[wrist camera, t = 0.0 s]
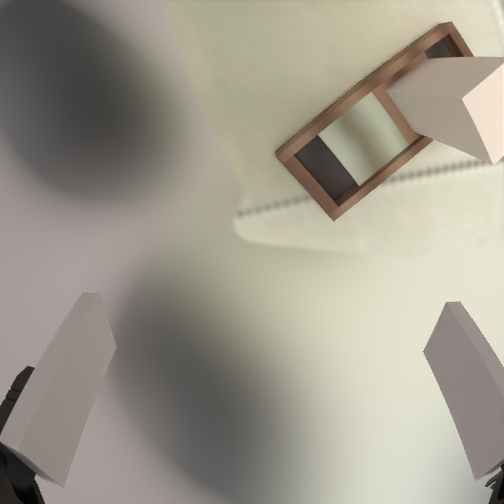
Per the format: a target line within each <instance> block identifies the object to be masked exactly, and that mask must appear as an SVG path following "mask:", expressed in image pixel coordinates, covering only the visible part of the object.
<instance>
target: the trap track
mask: <svg viewBox="0 0 504 504" xmlns="http://www.w3.org/2000/svg"><path fill="white" fill-rule="evenodd" d="M449 57H474V56H473V54H472V53H471V51H470V49H469V48H468V46H467V44H466V43H465V41H464V40H463V38H462V36H461V35H460V33H459V32H458V30H457V29H456V27H455V26H454V24H453V23H452V22H447V23H442V24H439V25H437V26H436V27H434V28H433V29H431V30H430V31H429V32H427V33H426V34H424V35H423V36H421V37H420V38H419V39H417V40H416V41H414V42H413V43H412V44H410V45H409V46H407V47H406V48H405V49H403V50H402V51H401V52H399V53H398V54H396V55H395V56H394V57H392V58H391V59H390V60H388V61H387V62H386V63H384V64H383V65H382V66H380V67H379V68H378V69H376V70H375V71H374V72H372V73H371V74H370V75H369V76H367V77H366V78H365V79H363V80H362V81H361V82H359V83H358V84H357V85H356V86H354V87H353V88H352V89H351V90H349V91H348V92H347V93H345V94H344V95H343V96H342V97H340V98H339V99H338V100H337V101H335V102H334V103H333V104H332V105H330V106H329V107H328V108H327V109H326V110H324V111H323V112H322V113H321V114H319V115H318V116H317V117H316V118H315V119H313V120H312V121H311V122H310V123H309V124H307V125H306V126H305V127H304V128H303V129H301V130H300V131H299V132H298V133H297V134H295V135H294V136H293V137H292V138H291V139H290V140H288V141H287V142H286V143H285V144H284V145H282V146H281V147H280V148H279V149H278V150H277V151H276V152H275V154H276V157H277V159H278V160H279V161H280V162H281V163H282V164H283V165H284V166H285V167H286V168H287V169H288V170H289V171H290V173H291V174H292V175H293V176H294V177H295V178H296V179H297V180H298V181H299V182H300V184H301V185H302V186H303V187H304V188H305V189H306V190H307V191H308V193H309V194H310V195H311V196H312V197H313V198H314V199H315V200H316V202H317V203H318V204H319V205H320V206H321V207H322V209H323V210H324V211H325V212H326V213H327V214H328V215H329V217H330V218H331V219H332V220H333V221H335V220H336V219H337V218H338V217H340V216H341V215H342V214H343V213H345V212H346V211H347V210H348V209H350V208H351V207H352V206H353V205H355V204H356V203H357V202H358V201H360V200H361V199H362V198H363V197H365V196H366V195H367V194H368V193H370V192H371V191H372V190H373V189H375V188H376V187H377V186H378V185H380V184H381V183H382V182H383V181H384V180H386V179H387V178H388V177H389V176H391V175H392V174H393V173H394V172H395V171H397V170H398V169H399V168H400V167H402V166H403V165H404V164H405V163H406V162H408V161H409V160H410V159H411V158H412V157H414V156H415V155H416V154H417V153H419V152H420V151H421V150H422V149H423V148H425V147H426V146H427V145H428V144H429V143H431V142H432V141H433V140H434V139H432V138H429V137H427V136H424V135H421V134H419V133H416V132H413V130H412V129H411V127H410V126H409V124H408V123H407V121H406V120H405V118H404V117H403V115H402V114H401V112H400V111H399V109H398V108H397V106H396V105H395V104H394V102H393V101H392V99H391V98H390V97H389V95H388V94H387V92H386V91H385V89H386V88H388V87H389V86H390V85H391V84H393V83H394V82H395V81H397V80H398V79H399V78H400V77H402V76H403V75H404V74H406V73H407V72H408V71H410V70H411V69H412V68H414V67H415V66H416V65H418V64H419V63H420V62H422V61H423V60H424V59H433V58H449Z"/></svg>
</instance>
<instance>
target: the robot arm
mask: <svg viewBox="0 0 504 504" xmlns="http://www.w3.org/2000/svg"><path fill="white" fill-rule="evenodd" d="M115 349H116V344H115V341H114V338H113V335H112V332H111V328H110V325H109V322H108V319H107V316H106V312H105V309H104V306H103V302H102V299H101V295H100V294H98V293H88V292H83V293H82V294H81V296H80V297H79V299H78V300H77V302H76V303H75V305H74V306H73V308H72V309H71V311H70V312H69V314H68V315H67V317H66V318H65V320H64V321H63V323H62V324H61V326H60V327H59V329H58V331H57V332H56V334H55V336H54V337H53V339H52V340H51V342H50V344H49V345H48V347H47V349H46V350H45V352H44V353H43V355H42V357H41V359H40V360H39V362H38V364H37V365H36V367H35V368H33V367H30V366H27V367H26V368H25V369H24V370H23V371H22V372H21V373H20V374H18V375H17V377H16V379H15V380H14V382H13V384H12V386H11V390H9V391H8V393H7V395H6V399H5V400H4V401H3V402H2V404H1V406H0V504H45V502H44V500H43V497H42V495H41V492H40V490H39V487H38V485H37V483H36V481H35V479H34V478H35V475H36V474H37V475H38V476H40V477H41V478H42V479H43V480H45V481H47V482H50V483H52V484H55V485H57V486H60V487H62V488H64V485H65V482H66V479H67V476H68V472H69V470H70V466H71V463H72V460H73V457H74V454H75V451H76V448H77V446H78V443H79V440H80V437H81V434H82V432H83V429H84V426H85V423H86V421H87V418H88V415H89V413H90V410H91V407H92V405H93V402H94V400H95V397H96V395H97V392H98V390H99V387H100V385H101V382H102V380H103V377H104V375H105V373H106V370H107V368H108V365H109V363H110V360H111V358H112V356H113V354H114V351H115ZM423 352H424V355H425V356H426V359H427V361H428V363H429V365H430V367H431V369H432V372H433V373H434V376H435V378H436V380H437V383H438V385H439V387H440V389H441V391H442V394H443V396H444V398H445V401H446V403H447V405H448V408H449V410H450V413H451V415H452V417H453V420H454V422H455V425H456V428H457V430H458V433H459V435H460V438H461V441H462V443H463V446H464V449H465V452H466V455H467V457H468V460H469V463H470V466H471V469H472V472H473V475H474V478H475V480H479V479H481V478H483V477H485V476H487V475H490V474H491V473H493V472H494V471H495V470H496V469H498V468H499V467H500V466H501V469H502V471H500V472H499V473H498V474H496V475H495V476H494V477H492V478H491V479H490V480H489V481H488V482H487V484H486V485H485V486H486V487H488V486H489V485H491V484H492V483H493V482H495V481H496V482H495V484H493V485H492V486H491V487H490V488H491V489H493V492H492V495H491V498H490V501H489V504H504V367H503V365H502V364H501V362H500V361H499V359H498V357H497V356H496V354H495V352H494V351H493V349H492V348H491V346H490V345H489V343H488V342H487V340H486V338H485V337H484V335H483V334H482V332H481V331H480V329H479V328H478V326H477V325H476V323H475V322H474V321H473V319H472V318H471V316H470V315H469V313H468V312H467V311H466V309H465V308H464V306H463V305H462V304H461V302H446V304H445V306H444V308H443V310H442V313H441V315H440V317H439V320H438V322H437V324H436V326H435V328H434V330H433V332H432V334H431V337H430V339H429V341H428V343H427V345H426V347H425V349H424V351H423Z"/></svg>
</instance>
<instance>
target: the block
mask: <svg viewBox="0 0 504 504" xmlns="http://www.w3.org/2000/svg"><path fill="white" fill-rule="evenodd" d="M385 91H386V92H387V94H388V95H389V97H390V98H391V99H392V101H393V102H394V104H395V105H396V106H397V108H398V109H399V111H400V112H401V114H402V115H403V117H404V118H405V120H406V121H407V123H408V124H409V126H410V127H411V129H412V130H413V132H416V133H419V134H421V135H424V136H427V137H429V138H432V139H434V140H437V141H439V142H442V143H444V144H447V145H449V146H452V147H454V148H456V149H459V150H461V151H463V152H466V153H468V154H470V155H472V156H474V157H477V158H479V159H481V160H483V161H485V162H487V163H489V164H491V165H494V164H495V163H496V162H497V161H499V160H500V159H501V158H502V157H503V156H504V57H449V58H433V59H424V60H423V61H422V62H420V63H419V64H418V65H416V66H415V67H414V68H412V69H411V70H410V71H408V72H407V73H406V74H404V75H403V76H402V77H400V78H399V79H398V80H397V81H395V82H394V83H393V84H391V85H390V86H389V87H388V88H386V89H385Z"/></svg>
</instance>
